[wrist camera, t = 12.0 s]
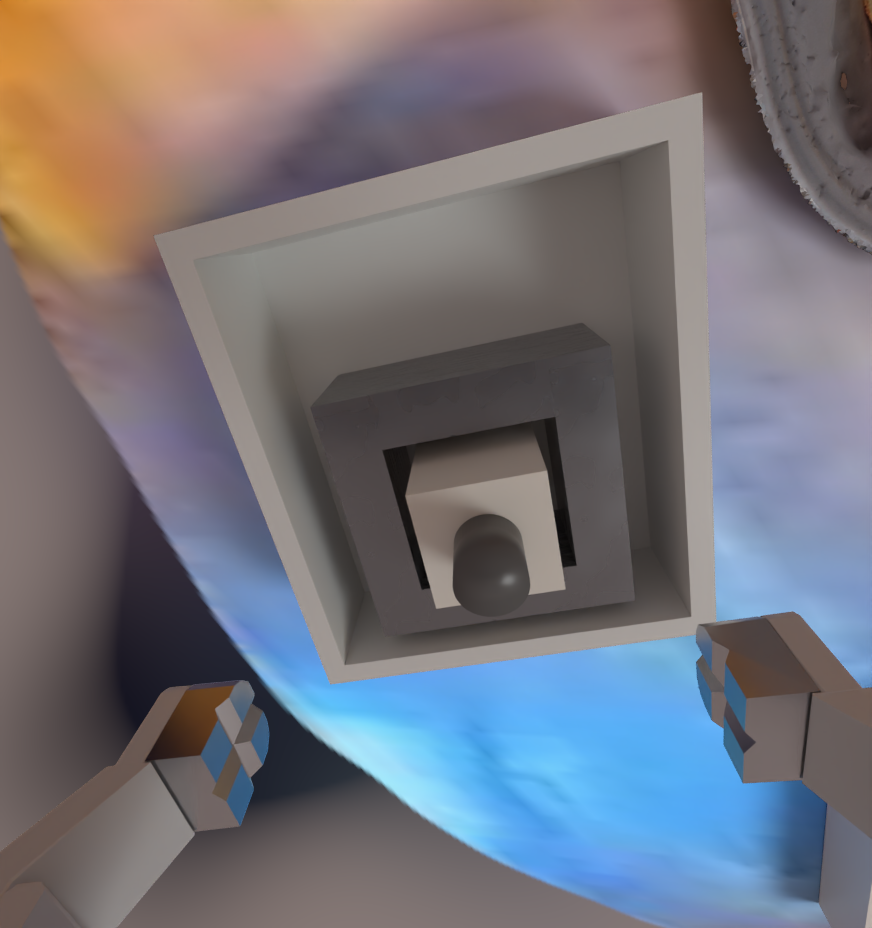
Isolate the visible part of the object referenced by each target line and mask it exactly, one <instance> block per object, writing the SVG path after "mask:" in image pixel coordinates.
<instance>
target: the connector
mask: <svg viewBox="0 0 872 928" xmlns="http://www.w3.org/2000/svg"><path fill="white" fill-rule="evenodd" d="M405 497H406V500H407V504H408V508H409V511H410V515H411V519H412V522H413V526H414V530H415V533H416V537H417V541H418V544H419V548H420V551H421V555H422V559H423V562H424V566H425V570H426V573H427V577H428V581H429V584H430V588H431V592H432V595H433V599H434V603H435V606H436V609H439V608H445V607H452V606H458V605H462V606H463V607H464V608H465V609H466V610H468V611H470V612H472V613H474V614H477V615H480V616H486V617H497V616H502V615H506V614H509V613H511V612H513V611H514V610H516V609H517V608H519V607H520V606H521V605H522V604H523V603H524V601H525V600H526V598H527V597H528V595H531V594H538V593H545V592H551V591H558V590H565V589H566V588H565V581H564V575H563V569H562V562H561V556H560V550H559V543H558V537H557V530H556V524H555V518H554V511H553V505H552V498H551V492H550V486H549V479H548V473H547V469H546V466H545V463H544V460H543V457H542V454H541V451H540V448H539V445H538V443H537V440H536V437H535V434H534V431H533V428H532V425H531V422H525V423H520V424H515V425H510V426H505V427H499V428H494V429H489V430H484V431H479V432H474V433H468V434H463V435H458V436H453V437H448V438H442V439H437V440H432V441H427V442H422V443H417V445H416V450H415V454H414V459H413V463H412V468H411V472H410V477H409V482H408V486H407V491H406V495H405Z"/></svg>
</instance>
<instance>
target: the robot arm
mask: <svg viewBox="0 0 872 928" xmlns="http://www.w3.org/2000/svg"><path fill="white" fill-rule="evenodd" d="M696 643H697V645H698V647H699V649H700V651H701V653H702V656H701V657H700V658H699V659H698V661H697V662H696V670H697V680H698V685H699V690H700V694H701V697H702V699H703V702H704V705H705V707H706V710H707V712H708V714H709V716H710V718H711V720H712V721H713V722H715V723H716V724H718V725H719V726H721V727H722V728H723V729H724V747H725V749H726V751H727V753H728V755H729V757H730V759H731V761H732V763H733V765H734V767H735V769H736V771H737V772H738V774H739V776H740V778H741V780H742V782H743V783H758V782H775V781H793V780H802V783H803V784H804V785H805V786H807V787H808V788H809V789H810V790H812V791H813V792H814V793H815V794H816V795H818V796H819V797H820V798H821V799H823V800H824V801H825V802H826V803H827V804H829V805H830V806H831V807H832V808H834V809H835V810H836V811H837V812H839V813H840V814H841V815H842V816H843V817H845V818H846V819H847V820H848V821H850V822H851V823H852V824H853V825H854V826H856V827H857V828H858V829H859V830H861V831H862V832H863V833H864V834H866V835H867V836H868V837H869V838H870V839H872V688H862V687H861V686H860V685H859V684H858V683H857V682H856V680H855V679H854V678H853V677H852V676H851V675H850V673H849V672H848V671H847V670H846V669H845V668H844V666H843V665H842V664H841V663H840V662H839V661H838V659H837V658H836V657H835V656H834V655H833V653H832V652H831V651H830V650H829V649H828V648H827V646H826V645H825V644H824V643H823V642H822V641H821V639H820V638H819V637H818V636H817V635H816V634H815V632H814V631H813V630H812V629H811V628H810V627H809V625H808V624H807V623H806V622H805V621H804V620H803V618H802V617H801V616H800V615H798V614H796V613H795V612H786V613H779V614H771V615H764V616H760V617H751V618H743V619H735V620H728V621H720V622H712V623H705V624H698V626H697V629H696ZM254 695H255V694H254V692H253V690H252V688H251V686H250V684H249V682H248V681H242V680H238V681H228V682H217V683H207V684H196V685H192V686H181V687H170V688H168V689H167V690H165V691H164V692H162V693H161V695H160V696H159V698H158V699H157V701H156V702H155V704H154V706H153V707H152V709H151V710H150V712H149V713H148V715H147V716H146V718H145V720H144V721H143V723H142V724H141V726H140V727H139V729H138V731H137V732H136V734H135V735H134V737H133V738H132V740H131V742H130V743H129V745H128V746H127V748H126V749H125V751H124V753H123V754H122V756H121V757H120V759H119V761H118V762H117V763H116V765H115V766H109V767H106V768H105V769H104V770H102V771H101V772H100V773H99V774H97V775H96V776H95V777H94V778H92V779H91V780H90V781H89V782H87V783H86V784H85V785H84V786H82V787H81V788H80V789H79V790H77V791H76V792H75V793H73V794H72V795H71V796H70V797H69V798H67V799H66V800H65V801H63V802H62V803H61V804H60V805H58V806H57V807H56V808H55V809H53V810H52V811H51V812H50V813H48V814H47V815H46V816H45V817H43V818H42V819H41V820H40V821H38V822H37V823H36V824H35V825H33V826H32V827H31V828H29V829H28V830H27V831H26V832H25V833H23V834H22V835H21V836H19V837H18V838H17V839H16V840H14V841H13V842H12V843H11V844H9V845H8V846H7V847H6V848H4V849H3V850H2V851H1V852H0V928H117V926H118V925H119V924H120V923H121V922H122V920H123V919H124V918H125V917H126V916H127V914H128V913H129V912H130V911H131V910H132V909H133V907H134V906H135V905H136V904H137V903H138V901H139V900H140V899H141V898H142V897H143V896H144V894H145V893H146V892H147V891H148V890H149V888H150V887H151V886H152V885H153V884H154V882H155V881H156V880H157V879H158V878H159V876H160V875H161V874H162V873H163V872H164V871H165V869H166V868H167V867H168V866H169V865H170V863H171V862H172V861H173V860H174V859H175V857H176V856H177V855H178V854H179V853H180V851H181V850H182V849H183V848H184V847H185V846H186V844H187V843H188V842H189V841H190V840H191V838H192V837H193V836H194V835H195V833H194V831H204V830H212V829H221V828H229V827H237V826H240V825H241V822H242V819H243V817H244V814H245V811H246V809H247V806H248V803H249V800H250V798H251V795H252V793H253V790H254V788H253V785H252V782H251V779H250V777H251V776H252V775H253V774H254V773H255V772H256V771H257V770H258V769H259V768H260V767H261V766H262V765H263V762H264V759H265V756H266V753H267V750H268V740H269V729H268V724H267V720H266V718H265V715H264V713H263V711H262V710H260V709H259V708H257V707H255V706H254V705H253V704H251V702H252V700H253V697H254Z"/></svg>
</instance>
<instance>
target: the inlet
mask: <svg viewBox="0 0 872 928" xmlns="http://www.w3.org/2000/svg"><path fill="white" fill-rule="evenodd" d="M310 408H311V412H312V415H313V418H314V421H315V424H316V427H317V430H318V433H319V436H320V439H321V442H322V445H323V448H324V451H325V454H326V457H327V460H328V463H329V467H330V470H331V473H332V476H333V479H334V482H335V485H336V488H337V491H338V494H339V497H340V500H341V503H342V506H343V509H344V512H345V515H346V518H347V521H348V525H349V528H350V531H351V534H352V537H353V540H354V543H355V546H356V549H357V552H358V555H359V558H360V561H361V564H362V567H363V570H364V573H365V576H366V579H367V583H368V586H369V589H370V592H371V595H372V598H373V601H374V604H375V607H376V610H377V613H378V616H379V619H380V622H381V625H382V628H383V631H384V634H385V637H388V636H395V635H402V634H409V633H415V632H422V631H429V630H436V629H443V628H450V627H457V626H463V625H470V624H477V623H484V622H491V621H498V620H504V619H511V618H518V617H525V616H532V615H539V614H546V613H552V612H559V611H566V610H573V609H580V608H587V607H594V606H600V605H607V604H614V603H621V602H628V601H635V591H634V581H633V571H632V560H631V550H630V540H629V530H628V519H627V509H626V499H625V488H624V478H623V468H622V457H621V447H620V437H619V427H618V416H617V406H616V396H615V385H614V375H613V365H612V354H611V345H610V344H609V343H607V342H606V341H605V340H603V339H602V338H601V337H600V336H598V335H597V334H596V333H595V332H593V331H592V330H591V329H590V328H588V327H587V326H586V325H585V324H583V323H578V324H573V325H569V326H564V327H559V328H555V329H550V330H545V331H541V332H536V333H531V334H527V335H522V336H517V337H513V338H508V339H503V340H499V341H494V342H489V343H485V344H480V345H475V346H471V347H466V348H461V349H457V350H452V351H447V352H443V353H438V354H433V355H428V356H424V357H419V358H414V359H410V360H405V361H400V362H396V363H391V364H386V365H382V366H377V367H372V368H368V369H363V370H358V371H354V372H349V373H344V374H340V375H338V376H337V377H336V378H335V379H334V380H333V381H332V383H331V384H330V385H329V386H328V387H327V388H326V390H325V391H324V392H323V393H322V394H321V395H320V397H319V398H318V399H317V400H316V401H315V402H314V403H313V405H312V406H311V407H310ZM541 419H544V422H545V428H546V435H547V441H548V448H549V454H550V461H551V467H552V474H553V480H554V487H555V494H556V500H557V507H558V509H557V510H553V511H554V518H555V524H556V530H557V537H558V543H559V550H560V556H561V562H562V569H563V575H564V581H565V588H566V589H565V590H558V591H551V592H545V593H538V594H531V595H528V597H527V598H526V600H525V601H524V603H523V604H522V605H521V606H520V607H519V608H517V609H516V610H514V611H513V612H511V613H509V614H506V615H502V616H497V617H486V616H480V615H477V614H474V613H472V612H470V611H468V610H466V609H465V608H464V607H463V606H462V605H458V606H452V607H445V608H439V609H436V606H435V603H434V599H433V595H432V592H431V588H430V584H429V581H428V577H427V573H426V570H425V566H424V562H423V559H422V555H421V551H420V548H419V544H418V541H417V537H416V533H415V530H414V526H413V522H412V519H411V515H410V511H409V508H408V504H407V500H406V497H405V495H406V491H407V486H408V482H409V477H410V472H411V468H412V467H411V463H410V459H409V455H408V452H407V448H406V445H411V444H416V443H422V442H427V441H432V440H437V439H442V438H448V437H453V436H458V435H463V434H468V433H474V432H479V431H484V430H489V429H494V428H499V427H505V426H510V425H515V424H520V423H525V422H531V421H536V420H541Z"/></svg>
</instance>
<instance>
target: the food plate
mask: <svg viewBox="0 0 872 928" xmlns="http://www.w3.org/2000/svg"><path fill="white" fill-rule="evenodd" d="M731 6H732V9H731V10H732V15H733V17H734V20H735V22H736V24H737V26H738V27H737V28H736V30H737V31H738V32H740V33H741V34H740V36H739V37H738V38H739V44H740V46H742V47H743V49H742V51H743V52H742V53H743V57H745V62H747V64H749V63H750V64H751V71H750V73H749V75H751V76H752V77H751V78H750V81H751V87H752V88H753V89H755V92H756V93H758V94H757V96H756V98H755V99H754V100H756V101H757V104H756V105H760V106H761V108H762V109H761V110H759V111H758V113H760V112H762V114H763V120H764V122H765V125H766V126H767V127H766V128H769V130H768V133H770V134H771V135H772V142H773V146H774V150H775V152H776V153H779V157H781V158H783V159H784V167H787V168H788V170H787V172H790V173H789V174H792V176H791V180H792V181H793V183H794V184H798V185H800V192H801V194H802V196H804V199H809V200H810V201H809V203H808V204H811V205H813V208H816V211H818V213H819V214H820V215H821V216H824V219H826V220H827V221H828V224H829V225H832V226H833V227H834V229H835V232H836V233H838V232H841V234H842V233H845V234H844V235H843V236H846V237H847V238H848V242H850V243H853V244H854V245H856V246H857V247H858V248H863V249H862V250H864V249H865V251H867V252H869V253H870V254H872V0H731ZM747 64H746V65H747ZM842 73H845V74H846V78H847V88H846V89H845V90H844V89H843V88H842V87H841V83H840V80H841V74H842ZM849 102H850V104H849ZM824 219H823V220H824ZM857 244H858V245H857Z"/></svg>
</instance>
